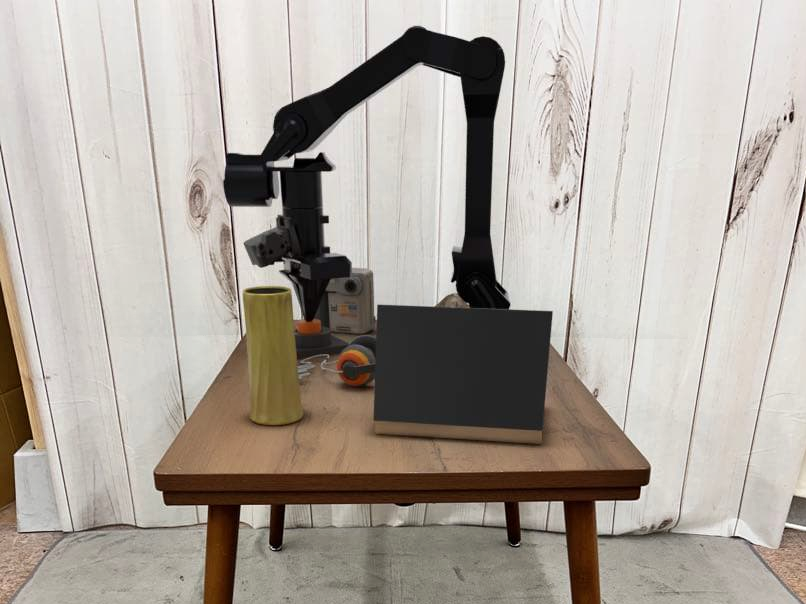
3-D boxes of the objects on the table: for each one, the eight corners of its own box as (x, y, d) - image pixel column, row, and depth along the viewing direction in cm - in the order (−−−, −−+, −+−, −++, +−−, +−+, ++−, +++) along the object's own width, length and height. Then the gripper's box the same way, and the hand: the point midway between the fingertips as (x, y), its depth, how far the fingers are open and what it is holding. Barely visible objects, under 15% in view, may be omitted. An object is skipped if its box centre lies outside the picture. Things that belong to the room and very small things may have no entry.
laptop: (395, 401, 96) (395, 387, 95) (543, 409, 93) (544, 395, 92) (375, 433, 85) (375, 418, 85) (541, 444, 83) (542, 429, 82)
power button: (315, 329, 119) (314, 317, 118) (325, 334, 116) (324, 322, 115) (293, 332, 117) (292, 320, 117) (302, 336, 115) (302, 324, 114)
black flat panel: (378, 304, 82) (377, 304, 81) (552, 311, 79) (552, 311, 78) (375, 419, 85) (373, 420, 84) (542, 430, 82) (542, 431, 81)
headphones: (295, 341, 112) (430, 313, 107) (305, 376, 114) (437, 351, 109) (255, 373, 97) (409, 343, 92) (268, 413, 99) (419, 386, 94)
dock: (329, 341, 123) (328, 322, 122) (351, 352, 117) (350, 332, 116) (269, 348, 119) (267, 328, 117) (289, 360, 113) (288, 339, 111)
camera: (302, 330, 130) (299, 267, 125) (319, 324, 134) (316, 263, 130) (364, 337, 126) (363, 272, 121) (379, 329, 131) (378, 267, 126)
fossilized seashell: (492, 318, 127) (460, 317, 136) (473, 283, 124) (441, 284, 132) (460, 347, 126) (429, 344, 134) (440, 313, 122) (409, 312, 131)
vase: (252, 409, 93) (241, 285, 86) (304, 408, 93) (296, 284, 87) (247, 426, 87) (235, 295, 81) (302, 425, 88) (294, 294, 81)
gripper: (225, 204, 112) (236, 315, 120) (272, 215, 98) (281, 339, 105) (297, 201, 117) (303, 308, 124) (352, 211, 103) (355, 330, 110)
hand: (308, 320), depth 116 cm, fingers closed
